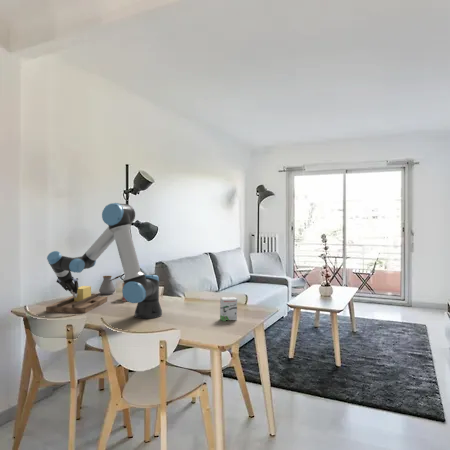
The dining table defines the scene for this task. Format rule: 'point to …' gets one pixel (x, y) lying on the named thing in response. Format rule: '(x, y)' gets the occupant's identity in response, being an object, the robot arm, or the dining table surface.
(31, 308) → the dining table surface
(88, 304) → the trap board
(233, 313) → the ink box
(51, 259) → the robot arm
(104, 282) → the coffee pot
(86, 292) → the ochre block
